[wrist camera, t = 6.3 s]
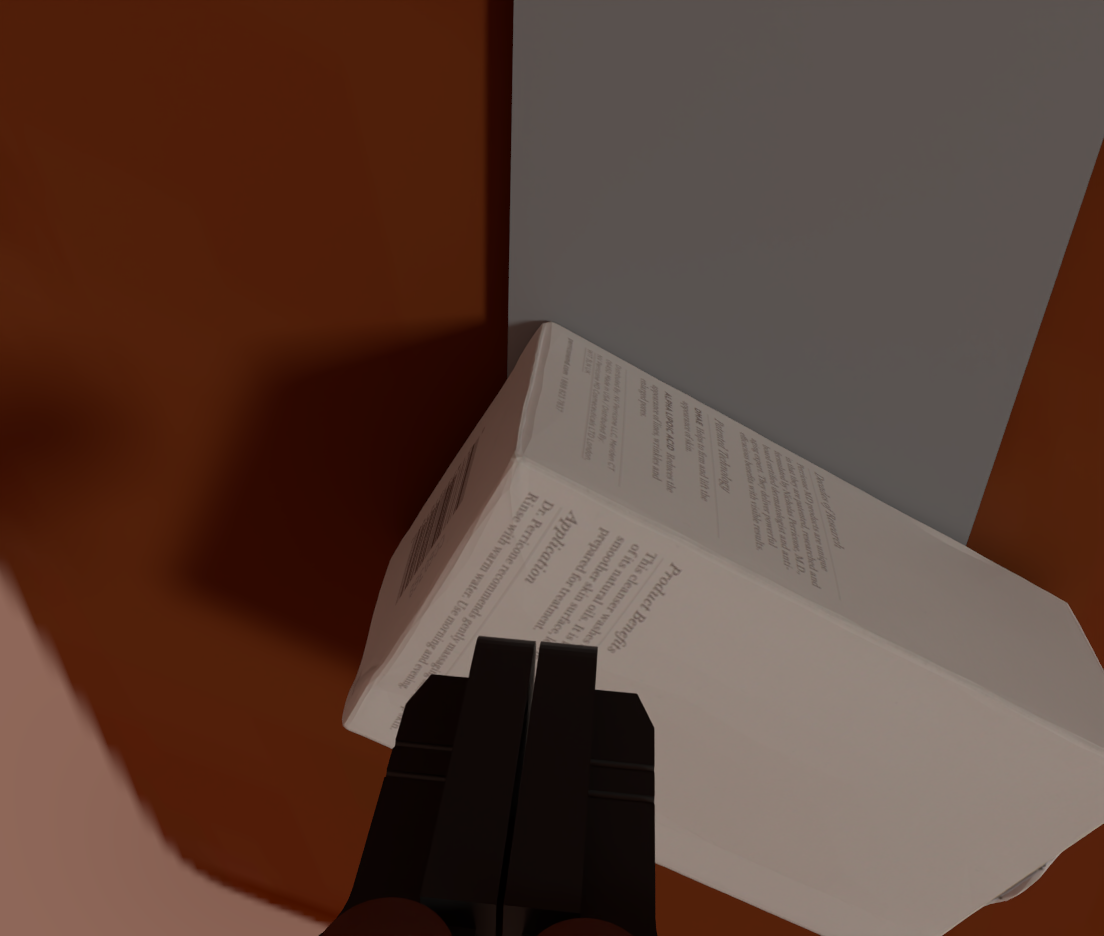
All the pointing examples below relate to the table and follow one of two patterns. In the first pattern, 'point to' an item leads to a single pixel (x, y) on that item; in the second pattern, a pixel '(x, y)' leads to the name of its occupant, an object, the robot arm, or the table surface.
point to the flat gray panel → (810, 213)
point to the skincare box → (757, 649)
